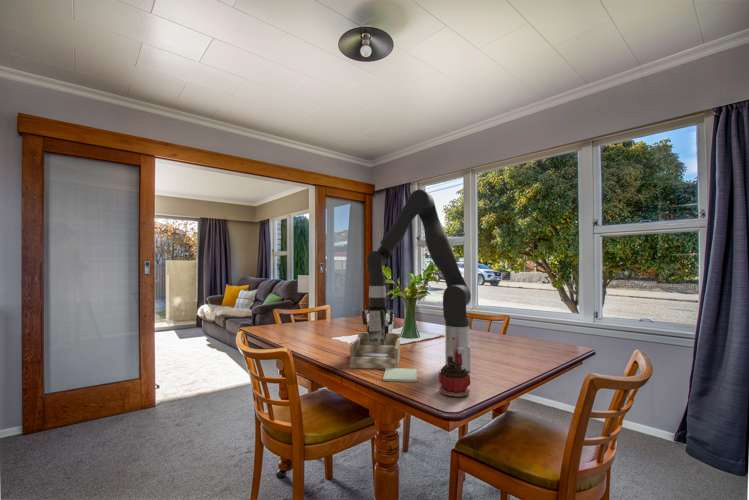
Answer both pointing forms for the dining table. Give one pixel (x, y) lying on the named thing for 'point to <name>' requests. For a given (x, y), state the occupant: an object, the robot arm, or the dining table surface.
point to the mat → (400, 375)
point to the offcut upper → (374, 355)
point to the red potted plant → (454, 375)
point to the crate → (363, 346)
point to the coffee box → (377, 327)
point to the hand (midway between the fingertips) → (377, 334)
